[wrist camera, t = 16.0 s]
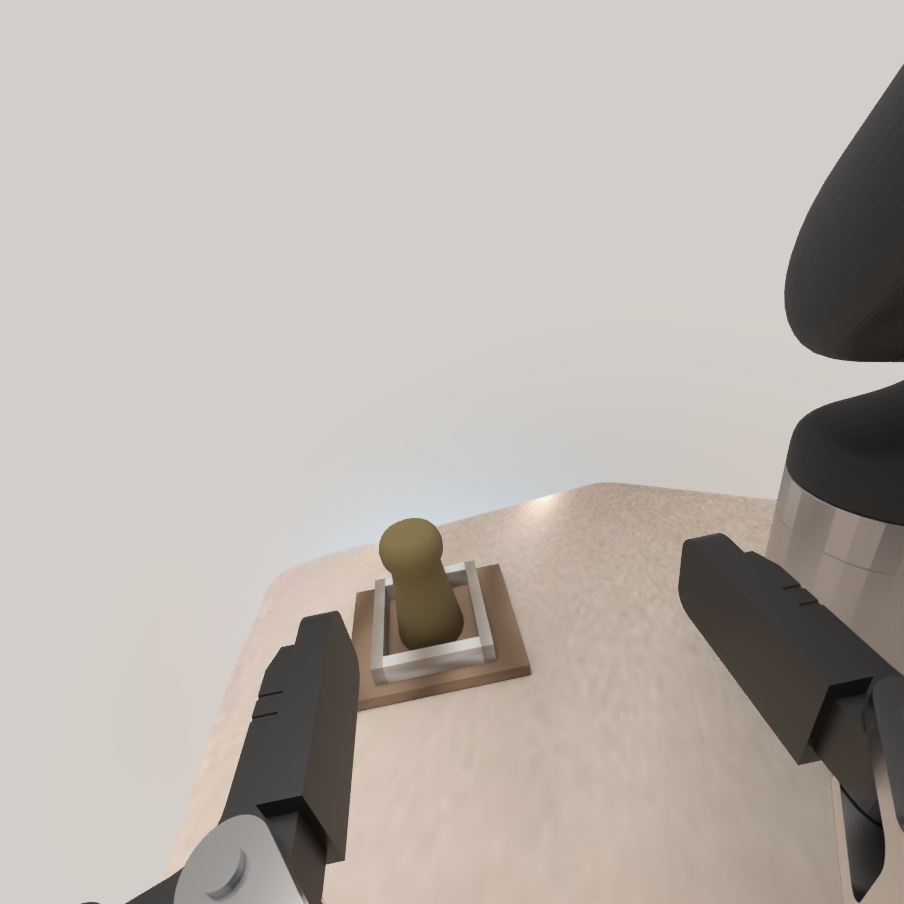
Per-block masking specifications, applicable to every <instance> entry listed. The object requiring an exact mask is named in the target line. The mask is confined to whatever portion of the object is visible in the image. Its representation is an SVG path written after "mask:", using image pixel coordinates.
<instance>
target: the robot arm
mask: <svg viewBox="0 0 904 904" xmlns="http://www.w3.org/2000/svg"><path fill="white" fill-rule="evenodd" d="M784 295H785V310H786V315H787V319H788V322H789V325H790V327H791V329H792V331H793V333H794V335H795V336H796V337H797V339H798V340H799V341H800V343H801V344H803V345H804V346H805V347H807V348H808V349H810V350H811V351H813V352H814V353H817V354H819V355H823V356H826V357H829V358H833V359H838V360H847V361H857V362H904V64H903V66H902V67H901V69H900V70H899V72H898V73H897V75H896V76H895V77H894V79H893V80H892V82H891V83H890V85H889V87H888V88H887V89H886V91H885V92H884V94H883V95H882V97H881V98H880V100H879V101H878V103H877V104H876V105H875V107H874V109H873V110H872V111H871V113H870V114H869V116H868V117H867V119H866V120H865V122H864V123H863V125H862V126H861V128H860V129H859V131H858V132H857V134H856V135H855V136H854V138H853V140H852V141H851V142H850V144H849V145H848V147H847V148H846V150H845V151H844V153H843V154H842V156H841V157H840V159H839V160H838V162H837V163H836V165H835V167H834V168H833V170H832V171H831V173H830V174H829V176H828V178H827V179H826V181H825V183H824V184H823V186H822V188H821V190H820V191H819V193H818V195H817V197H816V199H815V200H814V202H813V204H812V206H811V208H810V210H809V212H808V214H807V216H806V218H805V221H804V223H803V225H802V227H801V229H800V232H799V235H798V237H797V240H796V243H795V246H794V249H793V252H792V255H791V258H790V262H789V266H788V270H787V275H786V281H785V292H784ZM678 591H679V597H680V600H681V603H682V605H683V608H684V610H685V612H686V613H687V615H688V616H689V618H690V619H691V620H692V622H693V623H694V624H695V626H696V627H697V629H698V630H699V631H700V633H701V634H702V635H703V637H704V638H705V639H706V641H707V642H708V643H709V645H710V646H711V647H712V649H713V650H714V652H715V653H716V654H717V656H718V657H719V658H720V660H721V661H722V662H723V664H724V665H725V666H726V668H727V669H728V671H729V672H730V673H731V675H732V676H733V677H734V679H735V680H736V681H737V683H738V684H739V685H740V687H741V688H742V689H743V691H744V692H745V694H746V695H747V696H748V698H749V699H750V700H751V702H752V703H753V704H754V706H755V707H756V708H757V710H758V711H759V713H760V714H761V715H762V717H763V718H764V719H765V721H766V722H767V723H768V725H769V726H770V727H771V729H772V730H773V731H774V733H775V734H776V736H777V737H778V738H779V740H780V741H781V742H782V744H783V745H784V746H785V748H786V749H787V750H788V752H789V753H790V755H791V756H792V757H793V759H794V760H795V761H796V763H797V764H798V765H801V764H806V763H810V762H815V761H820V760H822V761H823V762H824V764H825V765H826V766H827V768H828V769H829V770H830V771H831V773H832V774H833V776H832V780H831V789H832V799H833V808H834V818H835V828H836V837H837V847H838V856H839V866H840V875H841V885H842V895H843V904H904V380H903V381H901V382H899V383H896V384H894V385H891V386H889V387H886V388H883V389H880V390H877V391H874V392H870V393H867V394H863V395H859V396H856V397H852V398H848V399H844V400H841V401H837V402H833V403H831V404H828V405H825V406H822V407H820V408H817V409H816V410H814V411H812V412H810V413H809V414H807V415H806V416H805V417H804V418H803V419H801V420H800V421H799V423H798V424H797V426H796V428H795V429H794V432H793V434H792V437H791V441H790V445H789V450H788V454H787V459H786V464H785V468H784V472H783V477H782V481H781V486H780V490H779V495H778V499H777V505H776V509H775V514H774V518H773V523H772V527H771V532H770V536H769V541H768V545H767V550H766V554H765V557H763V556H761V555H759V554H757V553H755V552H753V551H750V552H745V553H744V552H743V551H742V550H741V549H740V548H739V547H738V546H737V545H736V544H735V543H734V542H733V541H732V540H731V539H729V538H728V537H727V536H726V535H724V534H722V533H717V534H712V535H707V536H702V537H698V538H693V539H688V540H686V541H685V542H684V543H683V548H682V557H681V566H680V576H679V585H678ZM359 685H360V671H359V662H358V658H357V654H356V651H355V649H354V646H353V644H352V642H351V639H350V637H349V634H348V632H347V629H346V627H345V625H344V622H343V620H342V617H341V615H340V613H339V612H338V611H332V612H328V613H323V614H318V615H313V616H308V617H304V618H303V619H302V620H301V622H300V626H299V630H298V634H297V638H296V642H295V645H290V646H285V647H281V649H280V650H279V652H278V653H277V654H276V656H275V657H274V659H273V660H272V662H271V663H270V665H269V666H268V668H267V669H266V671H265V674H264V678H263V681H262V685H261V688H260V691H259V695H258V697H259V699H258V701H256V705H255V708H254V711H253V715H252V722H250V725H249V728H248V732H247V735H246V738H245V742H244V745H243V749H242V752H241V755H240V759H239V762H238V765H237V769H236V772H235V775H234V779H233V782H232V786H231V789H230V792H229V796H228V799H227V802H226V806H225V809H224V811H223V814H222V817H221V819H220V821H219V823H218V825H217V827H215V828H214V829H213V830H212V831H210V832H209V833H208V834H207V835H206V836H205V837H204V838H203V839H202V841H201V842H200V843H199V844H198V845H197V847H196V848H195V849H194V851H193V852H192V854H191V855H190V857H189V859H188V860H187V862H186V864H185V866H184V867H183V868H182V869H181V870H179V871H178V872H177V873H175V874H174V875H172V876H171V877H169V878H168V879H166V880H164V881H162V882H161V883H159V884H157V885H156V886H154V887H152V888H151V889H149V890H147V891H146V892H144V893H142V894H141V895H139V896H137V897H136V898H134V899H132V900H131V901H129V902H127V903H126V904H326V903H325V901H324V899H323V897H322V892H323V883H324V874H325V866H326V864H330V863H335V862H340V861H344V860H345V851H346V839H347V827H348V816H349V804H350V792H351V780H352V768H353V756H354V744H355V733H356V721H357V709H358V697H359ZM82 904H99V903H95V902H88V903H82Z"/></svg>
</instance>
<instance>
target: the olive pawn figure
mask: <svg viewBox="0 0 904 904" xmlns="http://www.w3.org/2000/svg"><path fill="white" fill-rule="evenodd" d="M442 552H443V544H442V537H441V535H440V533H439V531H438V530H437V528H436V527H435V526H434V525H433V524H432V523H430V522H429V521H427V520H424V519H420V518H411V519H405V520H402V521H399V522H397V523H395V524H393V525H392V526H390V527H389V528H388V529H387V530H386V531H385V532H384V534H383V535H382V537H381V540H380V544H379V554H380V558H381V560H382V563H383V565H384V566H385V568H386V569H387V570H388V571H389V572H390V573H391V574H392V580H393V588H394V596H395V604H396V612H397V620H398V628H399V635H400V638H401V641H402V643H403V644H404V645H405V646H406V647H407V648H408V649H409V650H411V651H412V650H417V649H421V648H426V647H431V646H436V645H440V644H445V643H450V642H455V641H457V639H458V638H459V636H460V634H461V633H462V630H463V626H464V618H463V614H462V611H461V609H460V607H459V604H458V602H457V599H456V597H455V594H454V592H453V589H452V587H451V585H450V582H449V580H448V577H447V575H446V572H445V570H444V567H443V565H442V563H441V560H440V559H441V556H442Z"/></svg>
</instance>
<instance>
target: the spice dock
mask: <svg viewBox="0 0 904 904" xmlns="http://www.w3.org/2000/svg"><path fill="white" fill-rule="evenodd" d="M444 570H445V572H446V575H447V577H448V580H449V582H450V585H451V587H452V589H453V592H454V594H455V597H456V599H457V602H458V604H459V607H460V609H461V611H462V614H463V618H464V626H463V630H462V633H461V634H460V636H459V638H458V639H457V641H455V642H450V643H445V644H440V645H436V646H431V647H426V648H421V649H417V650H412V651H411V650H409V649H408V648H407V647H406V646H405V645H404V644H403V643H402V641H401V638H400V635H399V628H398V620H397V612H396V604H395V596H394V588H393V580H392V577H391V578H386V579H381V580H376V581H375V589H373V590H368V591H364V592H359V593H357V595H356V604H355V613H354V622H353V631H352V641H351V642H352V644H353V646H354V649H355V651H356V654H357V658H358V662H359V671H360V685H359V697H358V709H357V711H361V710H365V709H370V708H375V707H380V706H384V705H389V704H394V703H398V702H403V701H408V700H413V699H417V698H422V697H427V696H431V695H436V694H441V693H446V692H450V691H455V690H460V689H464V688H469V687H474V686H479V685H483V684H488V683H493V682H498V681H502V680H507V679H512V678H516V677H521V676H526V675H531V673H530V665H529V662H528V658H527V655H526V652H525V649H524V645H523V642H522V639H521V636H520V632H519V629H518V626H517V623H516V619H515V616H514V613H513V609H512V606H511V603H510V600H509V596H508V593H507V590H506V587H505V583H504V580H503V577H502V574H501V570H500V567H499V564H496V565H491V566H486V567H481V568H476V567H475V563H474V561H469V562H464V563H459V564H455V565H450V566H445V567H444Z"/></svg>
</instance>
